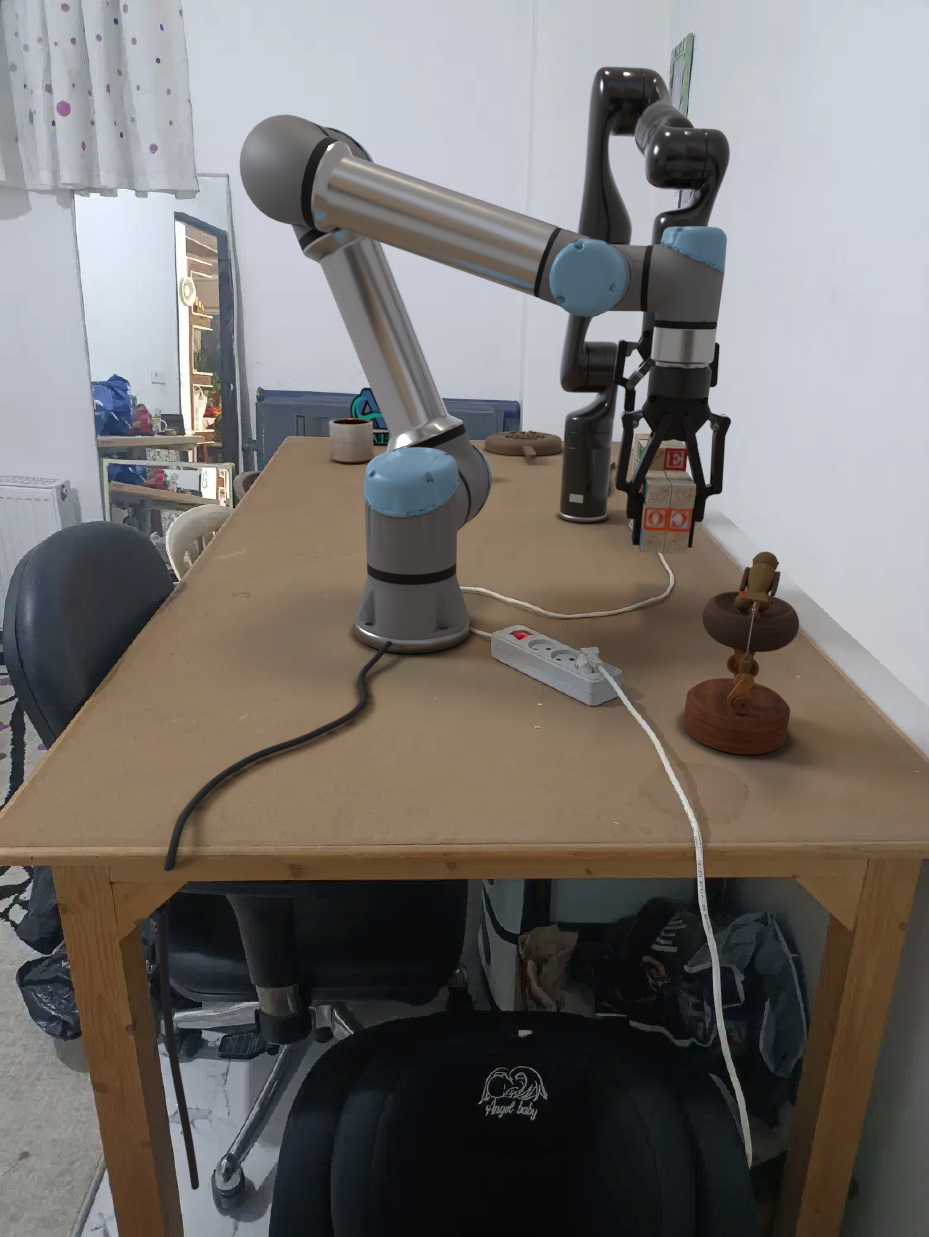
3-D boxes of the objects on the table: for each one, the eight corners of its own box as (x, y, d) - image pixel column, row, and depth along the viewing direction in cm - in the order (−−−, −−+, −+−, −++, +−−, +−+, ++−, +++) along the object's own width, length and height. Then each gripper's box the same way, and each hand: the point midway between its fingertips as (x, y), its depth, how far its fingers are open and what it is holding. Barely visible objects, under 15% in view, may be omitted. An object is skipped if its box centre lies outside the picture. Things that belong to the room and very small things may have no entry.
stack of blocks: (688, 555, 110) (699, 461, 105) (639, 553, 110) (648, 459, 106) (669, 513, 129) (677, 432, 125) (627, 512, 130) (634, 431, 125)
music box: (807, 766, 83) (825, 574, 75) (692, 766, 84) (698, 577, 77) (772, 695, 97) (784, 526, 89) (674, 696, 98) (678, 530, 91)
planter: (327, 456, 217) (325, 418, 214) (369, 454, 220) (368, 417, 217) (334, 465, 208) (332, 425, 204) (377, 463, 211) (376, 424, 207)
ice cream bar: (490, 464, 211) (490, 447, 209) (483, 443, 237) (483, 428, 235) (573, 465, 212) (575, 448, 210) (557, 444, 238) (558, 429, 236)
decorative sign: (402, 443, 235) (401, 388, 229) (401, 445, 232) (400, 389, 227) (334, 442, 236) (332, 386, 230) (333, 443, 233) (330, 387, 228)
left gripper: (754, 363, 107) (729, 538, 116) (601, 359, 109) (588, 532, 117) (767, 369, 100) (740, 555, 109) (604, 365, 102) (590, 548, 110)
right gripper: (721, 296, 118) (707, 414, 124) (618, 294, 119) (608, 411, 125) (731, 297, 111) (715, 423, 117) (621, 295, 112) (611, 419, 118)
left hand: (661, 543), depth 113 cm, fingers closed on stack of blocks, 6 cm apart
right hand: (660, 417), depth 121 cm, fingers open, 8 cm apart
